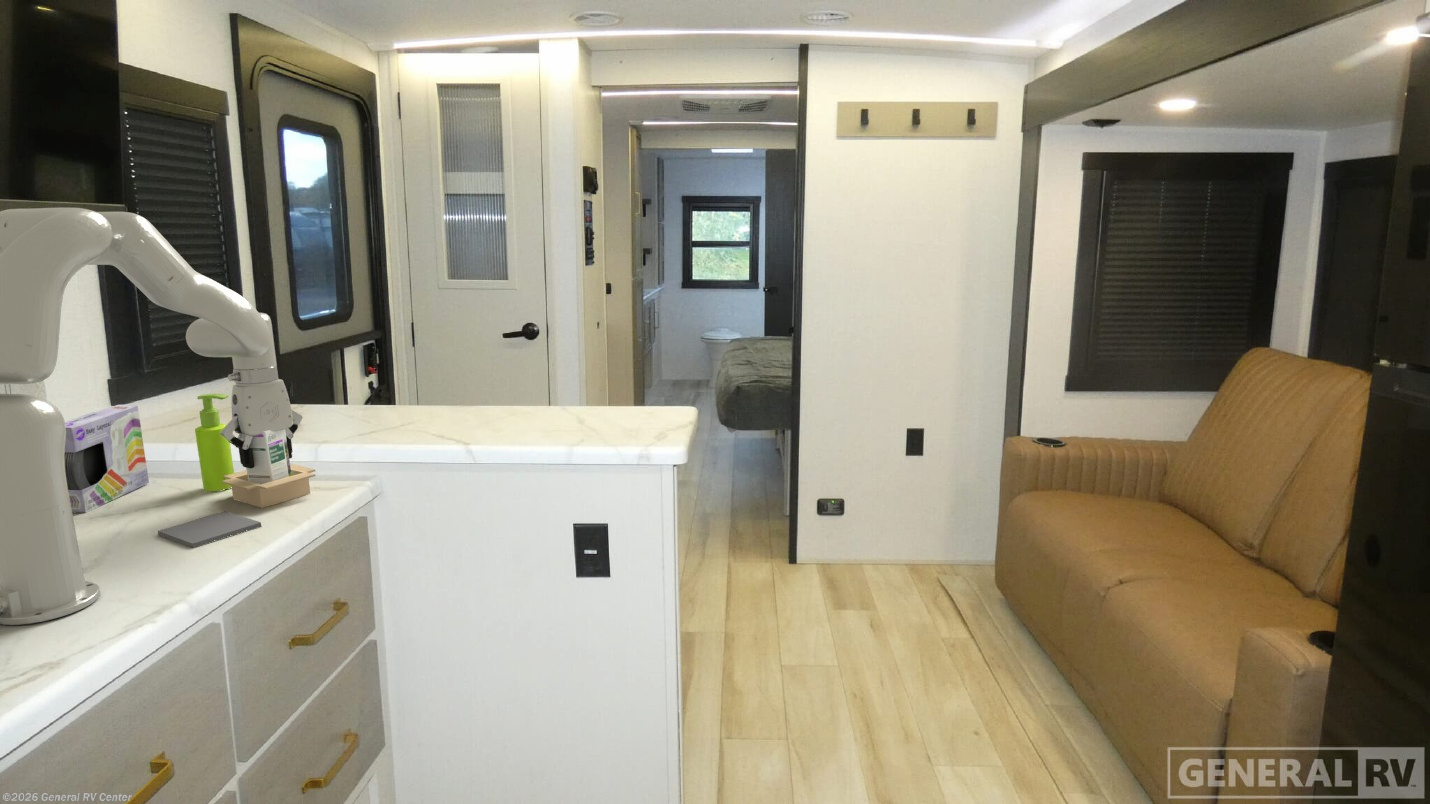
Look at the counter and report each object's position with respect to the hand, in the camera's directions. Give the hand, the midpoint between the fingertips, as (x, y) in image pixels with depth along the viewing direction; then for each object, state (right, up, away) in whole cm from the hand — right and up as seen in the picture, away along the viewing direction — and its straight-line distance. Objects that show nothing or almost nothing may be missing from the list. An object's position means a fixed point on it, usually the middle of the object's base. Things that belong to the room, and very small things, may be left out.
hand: (267, 461), depth 172 cm
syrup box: (0, -7, +2) cm, 7 cm away
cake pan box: (-33, -8, +1) cm, 34 cm away
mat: (-1, -11, -17) cm, 21 cm away
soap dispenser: (-14, -6, +8) cm, 17 cm away
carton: (0, -7, +2) cm, 7 cm away
